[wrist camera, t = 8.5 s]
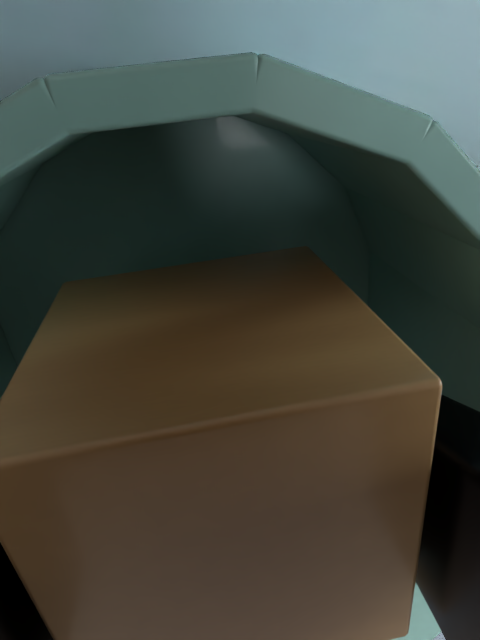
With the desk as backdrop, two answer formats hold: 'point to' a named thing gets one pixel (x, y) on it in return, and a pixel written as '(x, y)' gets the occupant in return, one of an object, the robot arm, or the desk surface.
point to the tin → (239, 193)
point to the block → (217, 457)
